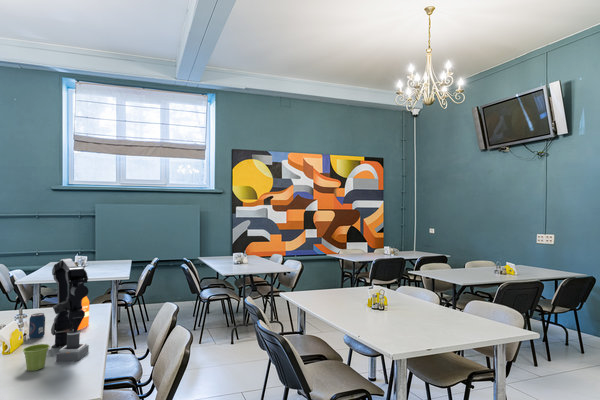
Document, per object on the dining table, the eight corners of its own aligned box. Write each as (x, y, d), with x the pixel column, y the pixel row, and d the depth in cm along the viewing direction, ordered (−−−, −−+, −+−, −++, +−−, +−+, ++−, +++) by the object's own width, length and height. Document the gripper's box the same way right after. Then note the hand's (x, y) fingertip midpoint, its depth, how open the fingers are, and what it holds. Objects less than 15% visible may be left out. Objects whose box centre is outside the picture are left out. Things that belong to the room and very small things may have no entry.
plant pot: (19, 374, 158) (20, 352, 158) (25, 366, 166) (25, 345, 166) (46, 370, 161) (47, 349, 162) (50, 362, 170) (51, 342, 170)
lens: (78, 346, 181) (79, 329, 181) (80, 349, 177) (80, 332, 177) (65, 348, 178) (66, 331, 178) (67, 352, 174) (67, 334, 174)
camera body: (68, 353, 182) (68, 342, 182) (88, 352, 183) (88, 342, 183) (56, 361, 171) (56, 351, 171) (77, 361, 172) (78, 350, 172)
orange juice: (88, 325, 227) (90, 291, 227) (78, 330, 218) (80, 294, 219) (76, 325, 227) (77, 290, 228) (65, 329, 219) (67, 293, 219)
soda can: (25, 338, 203) (26, 315, 203) (39, 334, 209) (40, 312, 209) (33, 340, 200) (34, 316, 200) (47, 336, 206) (48, 313, 206)
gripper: (52, 293, 181) (51, 327, 180) (56, 300, 166) (54, 337, 165) (80, 291, 187) (78, 323, 187) (85, 297, 172) (84, 333, 172)
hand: (73, 329), depth 177 cm, fingers open, 9 cm apart
